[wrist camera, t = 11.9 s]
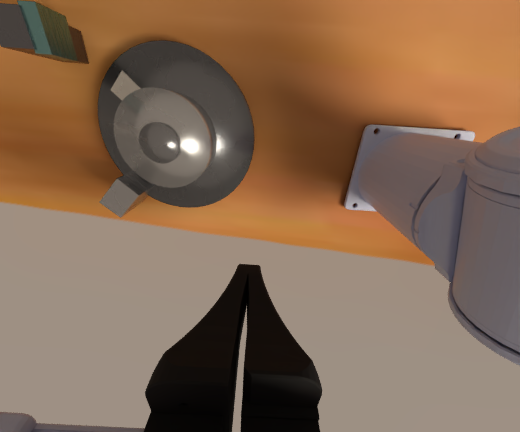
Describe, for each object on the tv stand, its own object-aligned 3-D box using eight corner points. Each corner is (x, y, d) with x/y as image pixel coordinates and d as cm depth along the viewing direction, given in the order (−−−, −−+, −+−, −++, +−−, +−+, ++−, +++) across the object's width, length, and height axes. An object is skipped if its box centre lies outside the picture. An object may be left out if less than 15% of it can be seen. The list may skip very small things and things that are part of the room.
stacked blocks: (91, 28, 16) (33, 0, 12) (101, 67, 17) (50, 54, 13) (53, 26, 15) (-19, -3, 12) (64, 65, 17) (2, 50, 13)
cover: (233, 141, 18) (228, 147, 15) (183, 193, 20) (169, 206, 17) (166, 67, 15) (143, 58, 13) (117, 135, 18) (89, 140, 15)
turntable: (284, 139, 18) (289, 145, 15) (185, 234, 23) (172, 254, 20) (161, -6, 14) (129, -41, 11) (72, 146, 19) (31, 153, 16)
